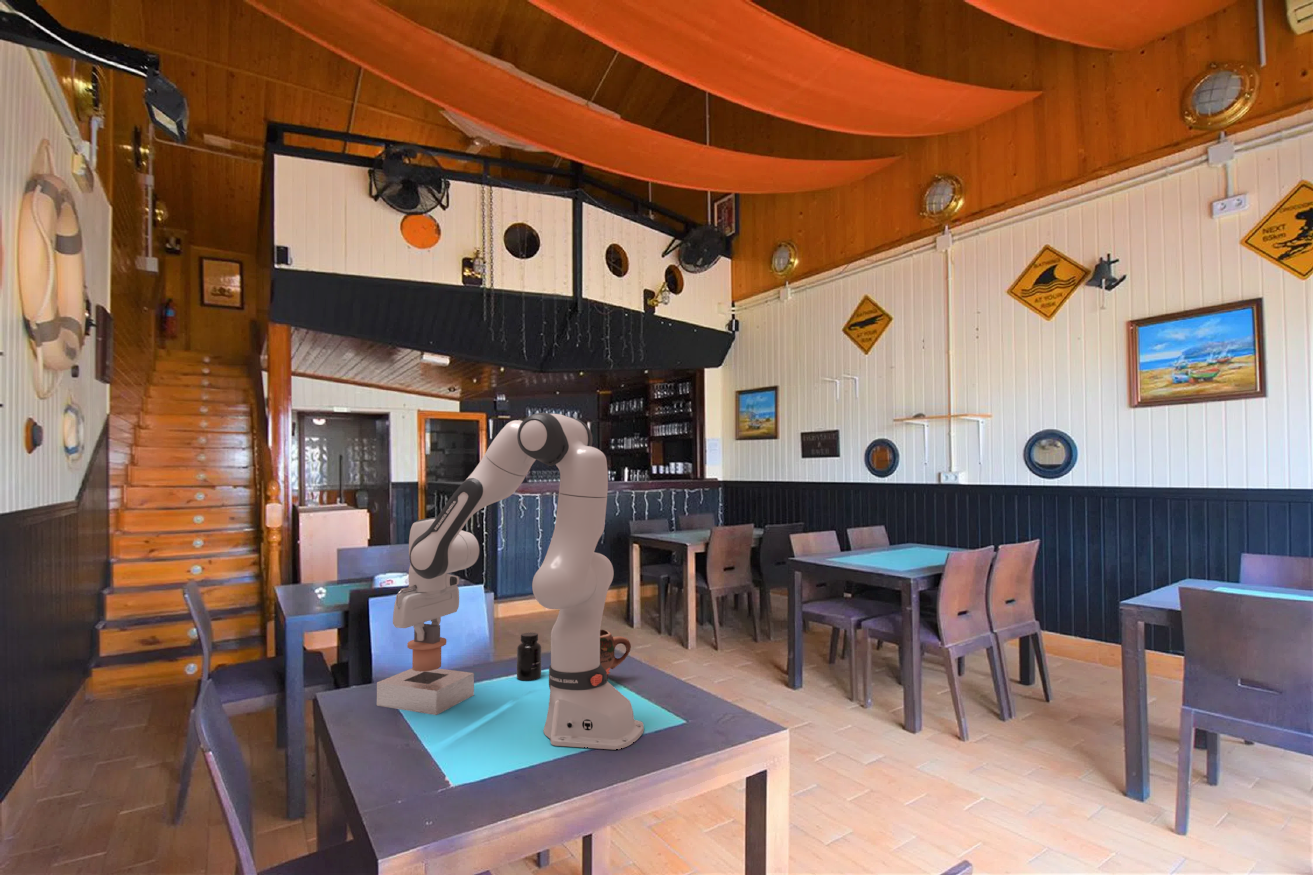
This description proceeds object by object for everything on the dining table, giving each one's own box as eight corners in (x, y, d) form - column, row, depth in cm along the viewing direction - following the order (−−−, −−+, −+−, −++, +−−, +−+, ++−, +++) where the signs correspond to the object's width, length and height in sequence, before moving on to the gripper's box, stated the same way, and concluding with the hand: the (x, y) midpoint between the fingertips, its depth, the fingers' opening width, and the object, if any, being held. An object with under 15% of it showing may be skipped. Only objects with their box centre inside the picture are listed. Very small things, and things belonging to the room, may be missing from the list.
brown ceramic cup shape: (622, 671, 185) (622, 622, 186) (637, 684, 174) (637, 632, 175) (554, 681, 177) (554, 630, 178) (565, 695, 166) (565, 640, 167)
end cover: (454, 663, 162) (454, 622, 163) (428, 674, 154) (429, 631, 154) (424, 660, 166) (425, 619, 166) (398, 670, 157) (399, 628, 158)
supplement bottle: (538, 681, 177) (538, 637, 178) (514, 681, 178) (514, 637, 178) (543, 673, 184) (543, 631, 185) (519, 673, 184) (519, 631, 185)
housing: (473, 700, 163) (473, 672, 163) (436, 721, 149) (436, 690, 150) (417, 692, 169) (417, 665, 169) (376, 711, 156) (376, 682, 156)
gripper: (407, 590, 150) (407, 650, 149) (463, 576, 169) (463, 629, 168) (386, 589, 152) (386, 647, 151) (444, 575, 171) (444, 627, 171)
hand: (427, 638), depth 160 cm, fingers closed on end cover, 2 cm apart
